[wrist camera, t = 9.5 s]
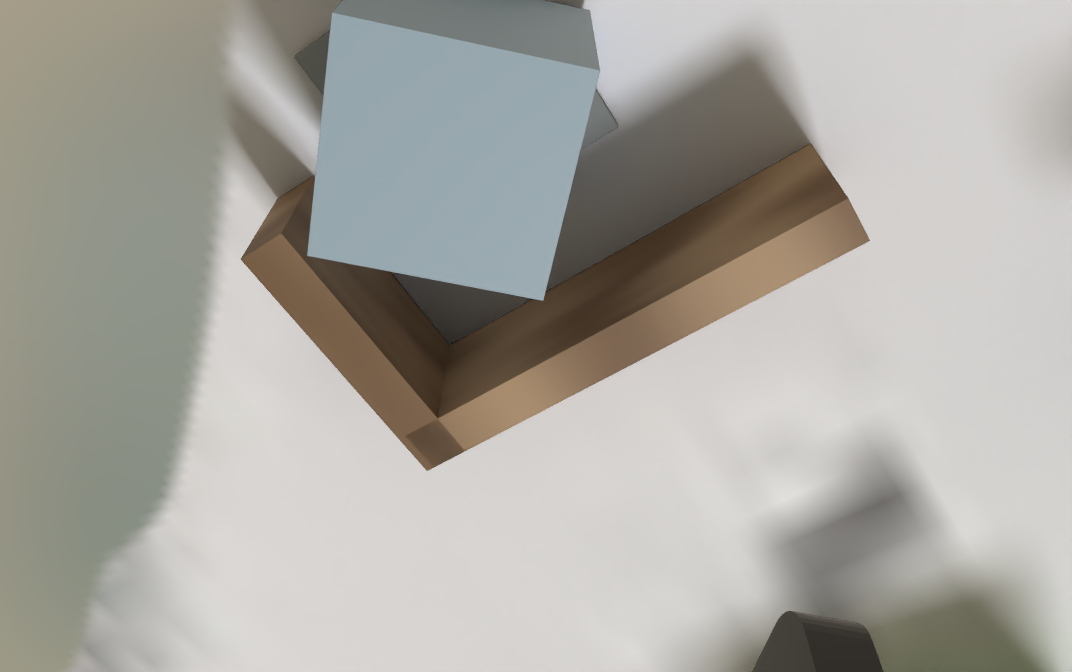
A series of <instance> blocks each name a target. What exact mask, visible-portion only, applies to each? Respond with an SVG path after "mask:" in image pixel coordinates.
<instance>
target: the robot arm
mask: <svg viewBox="0 0 1072 672" xmlns="http://www.w3.org/2000/svg"><path fill="white" fill-rule="evenodd" d="M752 672H883V669H882V667H881V664H880V661H879V658H878V655H877V653H876V650H875V647H874V644H873V641H872V639H871V637H870V634H869V633H868V631H867V630H866V628H865V627H864V626H863V625H861V624H859V623H855V622H849V621H844V620H838V619H832V618H827V617H821V616H815V615H810V614H804V613H798V612H793V611H788V612H785V613H784V614H783V615H782V616H781V617H780V618H779V619H778V621H777V623H776V625H775V627H774V629H773V631H772V633H771V635H770V637H769V639H768V641H767V643H766V645H765V647H764V649H763V651H762V653H761V655H760V657H759V659H758V661H757V663H756V665H755V667H754V669H753V671H752Z"/></svg>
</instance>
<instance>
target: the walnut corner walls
mask: <svg viewBox="0 0 1072 672" xmlns="http://www.w3.org/2000/svg"><path fill="white" fill-rule="evenodd" d="M314 184H315V177H314V176H312V177H311V178H309V179H307V180H306V181H304V182H303V183H301V184H300V185H298V186H297V187H295V188H294V189H292V190H291V191H289V192H288V193H286V194H284V195H283V196H281V197H280V198H278V199H277V201H276V202H275V204H274V205H273V207H272V209H271V210H270V212H269V214H268V215H267V217H266V219H265V220H264V222H263V224H262V225H261V227H260V228H259V230H258V232H257V233H256V235H255V237H254V238H253V240H252V242H251V243H250V245H249V247H248V248H247V250H246V251H245V253H244V255H243V256H242V258H241V260H242V261H243V263H244V264H245V265H246V266H247V267H248V268H249V269H250V270H251V272H252V273H253V274H254V275H255V276H256V277H257V278H258V280H259V281H260V282H261V283H262V284H263V285H264V286H265V287H266V289H267V290H268V291H269V292H270V293H271V294H272V295H273V297H274V298H275V299H276V300H277V301H278V302H279V303H280V305H281V306H282V307H283V308H284V309H285V310H286V311H287V312H288V314H289V315H290V316H291V317H292V318H293V319H294V320H295V322H296V323H297V324H298V325H299V326H300V327H301V328H302V329H303V331H304V332H305V333H306V334H307V335H308V336H309V337H310V339H311V340H312V341H313V342H314V343H315V344H316V345H317V347H318V348H319V349H320V350H321V351H322V352H323V353H324V354H325V356H326V357H327V358H328V359H329V360H330V361H331V362H332V364H333V365H334V366H335V367H336V368H337V369H338V370H339V372H340V373H341V374H342V375H343V376H344V377H345V378H346V379H347V381H348V382H349V383H350V384H351V385H352V386H353V387H354V389H355V390H356V391H357V392H358V393H359V394H360V395H361V396H362V398H363V399H364V400H365V401H366V402H367V403H368V404H369V406H370V407H371V408H372V409H373V410H374V411H375V412H376V414H377V415H378V416H379V417H380V418H381V419H382V420H383V421H384V423H385V424H386V425H387V426H388V427H389V428H390V429H391V431H392V432H393V433H394V434H395V435H396V436H397V437H398V438H399V440H400V441H401V442H402V443H403V444H404V445H405V446H406V448H407V449H408V450H409V451H410V452H411V453H412V454H413V456H414V457H415V458H416V459H417V460H418V461H419V462H420V463H421V465H422V466H423V467H424V468H425V469H426V470H427V471H428V470H430V469H432V468H434V467H436V466H437V465H439V464H441V463H443V462H445V461H447V460H449V459H451V458H453V457H455V456H457V455H459V454H461V453H462V452H464V451H466V450H468V449H470V448H472V447H474V446H476V445H478V444H480V443H482V442H484V441H486V440H487V439H489V438H491V437H493V436H495V435H497V434H499V433H501V432H503V431H505V430H507V429H509V428H511V427H512V426H514V425H516V424H518V423H520V422H522V421H524V420H526V419H528V418H530V417H532V416H534V415H536V414H537V413H539V412H541V411H543V410H545V409H547V408H549V407H551V406H553V405H555V404H557V403H559V402H561V401H563V400H564V399H566V398H568V397H570V396H572V395H574V394H576V393H578V392H580V391H582V390H584V389H586V388H588V387H589V386H591V385H593V384H595V383H597V382H599V381H601V380H603V379H605V378H607V377H609V376H611V375H613V374H614V373H616V372H618V371H620V370H622V369H624V368H626V367H628V366H630V365H632V364H634V363H636V362H638V361H639V360H641V359H643V358H645V357H647V356H649V355H651V354H653V353H655V352H657V351H659V350H661V349H663V348H664V347H666V346H668V345H670V344H672V343H674V342H676V341H678V340H680V339H682V338H684V337H686V336H688V335H689V334H691V333H693V332H695V331H697V330H699V329H701V328H703V327H705V326H707V325H709V324H711V323H713V322H714V321H716V320H718V319H720V318H722V317H724V316H726V315H728V314H730V313H732V312H734V311H736V310H738V309H740V308H741V307H743V306H745V305H747V304H749V303H751V302H753V301H755V300H757V299H759V298H761V297H763V296H765V295H766V294H768V293H770V292H772V291H774V290H776V289H778V288H780V287H782V286H784V285H786V284H788V283H790V282H791V281H793V280H795V279H797V278H799V277H801V276H803V275H805V274H807V273H809V272H811V271H813V270H815V269H816V268H818V267H820V266H822V265H824V264H826V263H828V262H830V261H832V260H834V259H836V258H838V257H840V256H841V255H843V254H845V253H847V252H849V251H851V250H853V249H855V248H857V247H859V246H861V245H863V244H865V243H866V242H868V241H870V240H869V238H868V236H867V234H866V232H865V230H864V228H863V226H862V224H861V222H860V220H859V218H858V216H857V214H856V212H855V210H854V208H853V207H852V205H851V203H850V201H849V199H848V197H847V196H846V194H845V193H844V191H843V190H842V188H841V187H840V185H839V184H838V182H837V181H836V180H835V178H834V177H833V175H832V174H831V172H830V171H829V169H828V168H827V166H826V165H825V163H824V162H823V160H822V159H821V158H820V156H819V155H818V153H817V152H816V150H815V149H814V147H813V146H812V144H809V145H807V146H806V147H804V148H802V149H800V150H798V151H797V152H795V153H793V154H791V155H790V156H788V157H786V158H784V159H782V160H781V161H779V162H777V163H775V164H773V165H772V166H770V167H768V168H766V169H765V170H763V171H761V172H759V173H757V174H756V175H754V176H752V177H750V178H748V179H747V180H745V181H743V182H741V183H740V184H738V185H736V186H734V187H732V188H731V189H729V190H727V191H725V192H723V193H722V194H720V195H718V196H716V197H715V198H713V199H711V200H709V201H707V202H706V203H704V204H702V205H700V206H698V207H697V208H695V209H693V210H691V211H690V212H688V213H686V214H684V215H682V216H681V217H679V218H677V219H675V220H673V221H672V222H670V223H668V224H666V225H665V226H663V227H661V228H659V229H657V230H656V231H654V232H652V233H650V234H648V235H647V236H645V237H643V238H641V239H640V240H638V241H636V242H634V243H632V244H631V245H629V246H627V247H625V248H623V249H622V250H620V251H618V252H616V253H615V254H613V255H611V256H609V257H607V258H606V259H604V260H602V261H600V262H598V263H597V264H595V265H593V266H591V267H590V268H588V269H586V270H584V271H582V272H581V273H579V274H577V275H575V276H573V277H572V278H570V279H568V280H566V281H565V282H563V283H561V284H559V285H557V286H556V287H554V288H552V289H550V290H548V291H547V292H545V296H544V300H543V301H542V300H537V299H532V300H531V301H529V302H527V303H525V304H523V305H522V306H520V307H518V308H516V309H515V310H513V311H511V312H509V313H507V314H506V315H504V316H502V317H500V318H498V319H497V320H495V321H493V322H491V323H490V324H488V325H486V326H484V327H482V328H481V329H479V330H477V331H475V332H473V333H472V334H470V335H468V336H466V337H465V338H463V339H461V340H459V341H457V342H456V343H454V344H452V345H449V344H448V343H447V342H446V340H445V339H444V338H443V337H442V335H441V334H440V333H439V332H438V330H437V329H436V328H435V327H434V325H433V324H432V323H431V322H430V320H429V319H428V318H427V317H426V315H425V314H424V313H423V312H422V310H421V309H420V308H419V307H418V305H417V304H416V303H415V302H414V300H413V299H412V298H411V297H410V296H409V294H408V293H407V292H406V291H405V289H404V288H403V287H402V286H401V284H400V283H399V282H398V281H397V279H396V278H395V277H394V276H393V274H392V273H391V272H390V271H385V270H380V269H374V268H369V267H364V266H359V265H353V264H348V263H343V262H338V261H332V260H327V259H322V258H317V257H311V256H307V253H308V243H309V233H310V224H311V214H312V204H313V194H314Z"/></svg>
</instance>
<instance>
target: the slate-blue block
mask: <svg viewBox="0 0 1072 672" xmlns="http://www.w3.org/2000/svg"><path fill="white" fill-rule="evenodd" d="M599 73H600V68H599V62H598V56H597V50H596V44H595V38H594V32H593V26H592V20H591V14H590V10H586V9H581V8H577V7H572V6H568V5H563V4H559V3H554V2H550V1H545V0H342V1H341V3H340V4H339V5H338V6H337V7H336V9H335V10H334V11H333V12H332V18H331V27H330V37H329V47H328V57H327V67H326V76H325V86H324V96H323V106H322V116H321V126H320V135H319V145H318V155H317V165H316V175H315V184H314V194H313V204H312V214H311V224H310V233H309V243H308V253H307V256H311V257H317V258H322V259H327V260H332V261H338V262H343V263H348V264H353V265H359V266H364V267H369V268H374V269H380V270H385V271H390V272H395V273H400V274H406V275H411V276H416V277H421V278H427V279H432V280H437V281H442V282H448V283H453V284H458V285H463V286H468V287H474V288H479V289H484V290H489V291H495V292H500V293H505V294H510V295H516V296H521V297H526V298H531V299H537V300H542V301H543V300H544V296H545V292H546V288H547V284H548V280H549V276H550V272H551V267H552V263H553V259H554V255H555V251H556V247H557V243H558V239H559V235H560V231H561V227H562V223H563V219H564V215H565V211H566V207H567V203H568V198H569V194H570V190H571V186H572V182H573V178H574V174H575V170H576V166H577V162H578V158H579V154H580V150H581V146H582V142H583V138H584V133H585V129H586V125H587V121H588V117H589V113H590V109H591V105H592V101H593V97H594V93H595V89H596V85H597V81H598V77H599Z"/></svg>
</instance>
